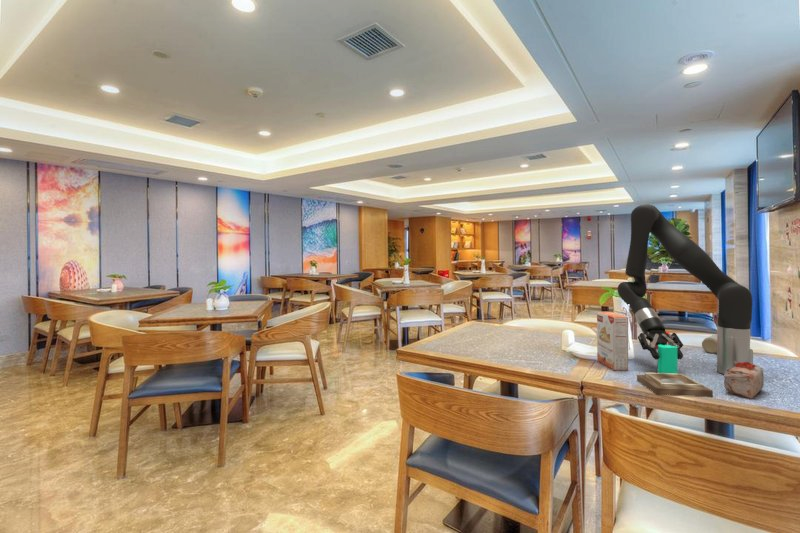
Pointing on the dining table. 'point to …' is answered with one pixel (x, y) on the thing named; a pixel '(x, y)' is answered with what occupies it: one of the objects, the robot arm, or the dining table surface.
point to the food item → (744, 379)
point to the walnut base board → (673, 384)
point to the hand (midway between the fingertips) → (669, 358)
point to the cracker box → (612, 340)
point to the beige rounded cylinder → (710, 344)
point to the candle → (667, 359)
